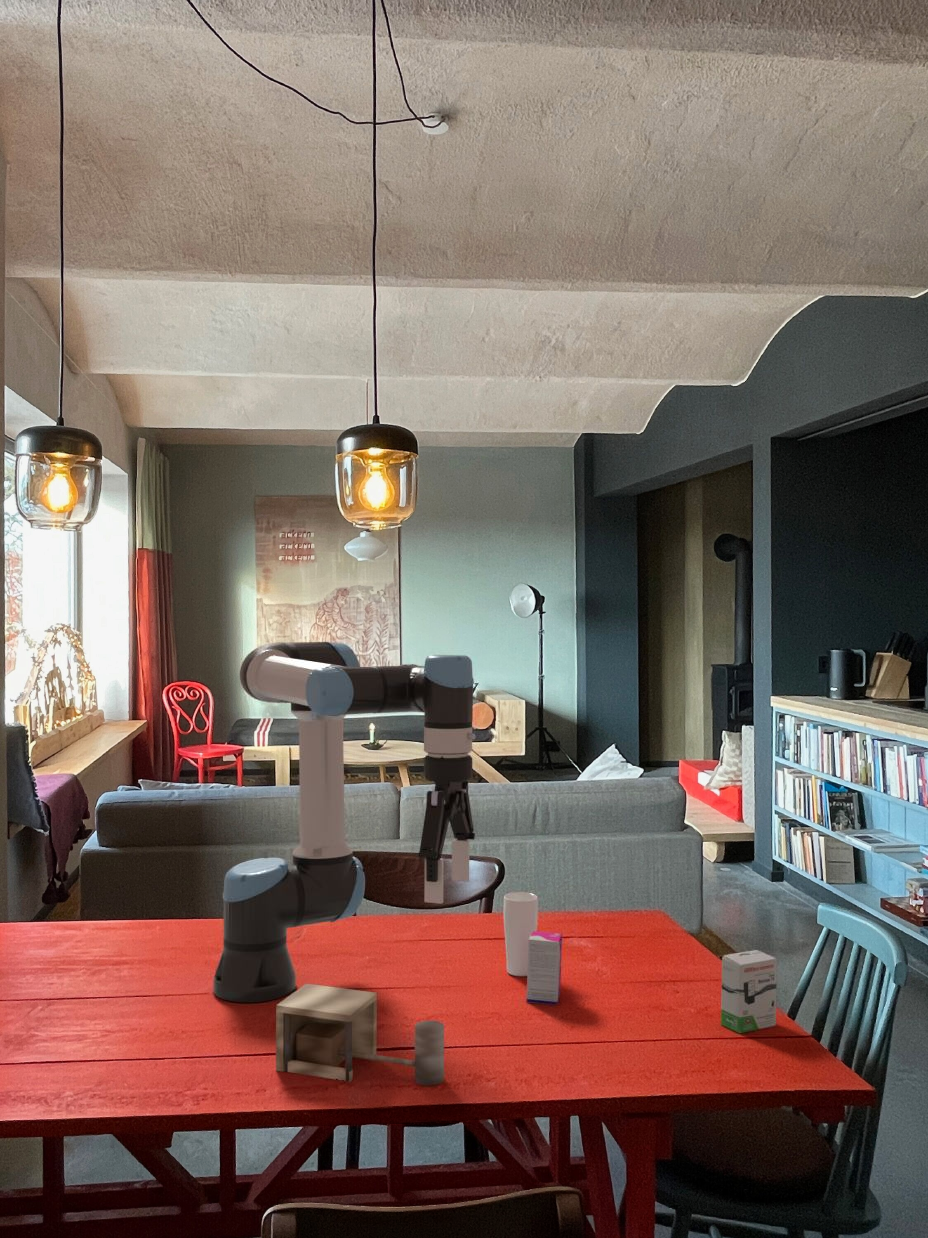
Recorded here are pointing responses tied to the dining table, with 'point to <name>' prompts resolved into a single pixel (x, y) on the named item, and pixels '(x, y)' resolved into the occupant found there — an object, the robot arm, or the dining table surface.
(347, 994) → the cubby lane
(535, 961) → the supplement box
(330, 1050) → the tethered cylinder
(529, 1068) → the dining table surface
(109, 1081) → the dining table surface
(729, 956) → the ink box
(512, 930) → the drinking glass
